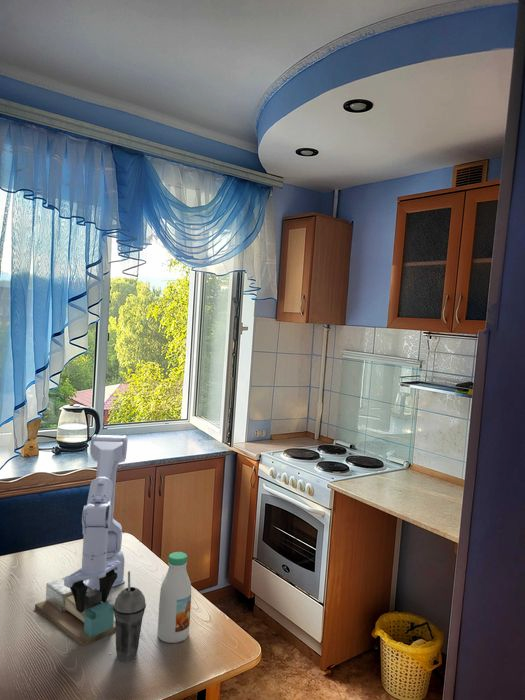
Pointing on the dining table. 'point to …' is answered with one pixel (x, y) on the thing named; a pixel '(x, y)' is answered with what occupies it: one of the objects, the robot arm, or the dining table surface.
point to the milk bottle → (175, 601)
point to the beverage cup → (128, 621)
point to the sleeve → (57, 594)
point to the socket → (98, 619)
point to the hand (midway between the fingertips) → (91, 606)
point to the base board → (69, 623)
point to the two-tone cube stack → (91, 600)
